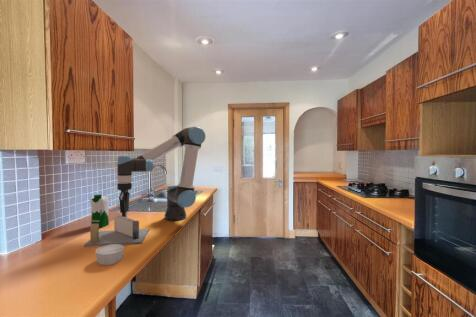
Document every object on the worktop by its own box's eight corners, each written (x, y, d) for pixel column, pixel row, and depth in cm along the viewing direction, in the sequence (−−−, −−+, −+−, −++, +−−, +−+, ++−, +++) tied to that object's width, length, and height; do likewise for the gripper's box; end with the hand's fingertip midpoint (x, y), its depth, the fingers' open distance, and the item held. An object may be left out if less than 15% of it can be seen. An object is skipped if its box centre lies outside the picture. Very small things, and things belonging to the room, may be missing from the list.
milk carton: (88, 228, 150) (88, 195, 149) (98, 223, 159) (98, 193, 158) (102, 228, 149) (101, 195, 148) (111, 224, 158) (111, 193, 158)
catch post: (98, 242, 126) (98, 223, 125) (96, 244, 123) (96, 224, 123) (92, 243, 125) (92, 223, 125) (90, 244, 123) (90, 225, 123)
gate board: (149, 230, 146) (149, 228, 146) (141, 243, 125) (141, 241, 125) (100, 232, 142) (100, 230, 141) (84, 246, 121) (84, 244, 121)
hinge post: (139, 238, 132) (139, 220, 132) (138, 240, 129) (138, 222, 129) (133, 239, 131) (133, 220, 131) (132, 241, 128) (132, 222, 128)
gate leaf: (135, 236, 132) (135, 219, 132) (132, 237, 130) (132, 220, 130) (117, 229, 142) (117, 214, 142) (114, 230, 141) (114, 215, 141)
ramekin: (113, 267, 99) (113, 255, 99) (88, 265, 101) (88, 253, 101) (129, 256, 110) (129, 244, 110) (107, 254, 112) (107, 243, 112)
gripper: (121, 181, 146) (121, 220, 147) (113, 184, 134) (113, 227, 134) (134, 181, 148) (134, 220, 148) (128, 184, 135) (128, 226, 135)
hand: (124, 223), depth 141 cm, fingers closed
